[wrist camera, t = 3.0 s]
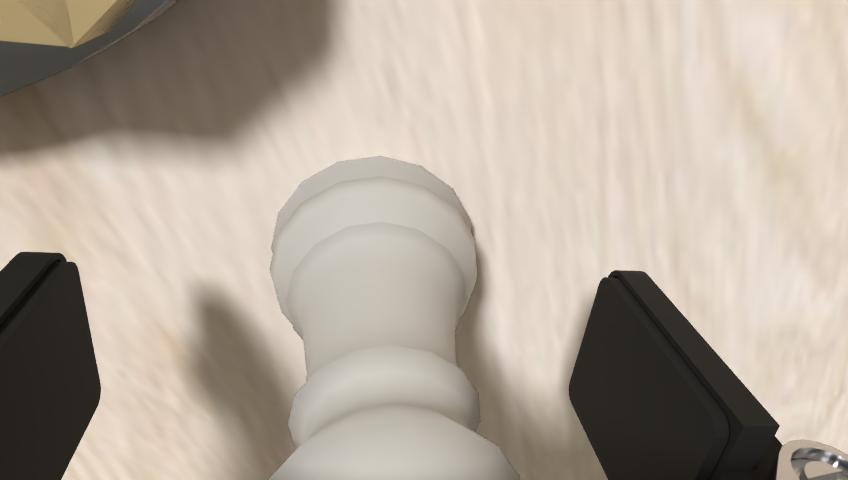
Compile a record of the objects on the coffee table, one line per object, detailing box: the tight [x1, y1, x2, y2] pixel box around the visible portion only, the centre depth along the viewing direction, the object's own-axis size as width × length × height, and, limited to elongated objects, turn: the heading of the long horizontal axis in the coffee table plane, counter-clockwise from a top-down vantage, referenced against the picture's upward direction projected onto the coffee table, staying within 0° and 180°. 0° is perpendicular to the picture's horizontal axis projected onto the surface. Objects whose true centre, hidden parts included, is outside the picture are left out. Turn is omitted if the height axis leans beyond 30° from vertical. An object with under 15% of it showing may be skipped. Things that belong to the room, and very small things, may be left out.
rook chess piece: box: [268, 156, 519, 480], centre depth 10 cm, size 4×4×8 cm
